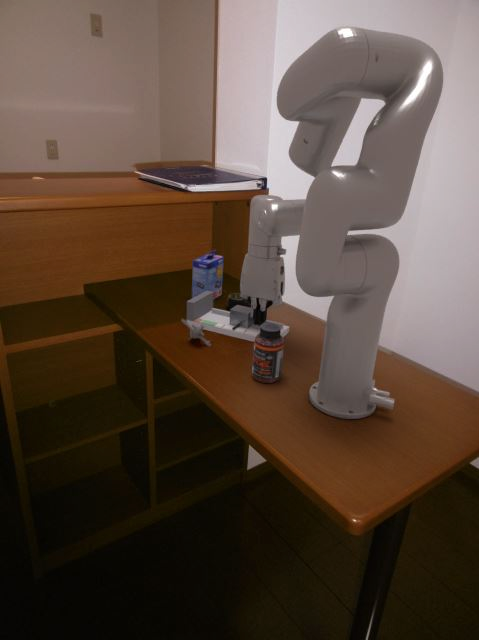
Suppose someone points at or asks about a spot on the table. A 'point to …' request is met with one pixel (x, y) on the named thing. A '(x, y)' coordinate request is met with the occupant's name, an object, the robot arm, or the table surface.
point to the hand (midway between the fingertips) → (259, 323)
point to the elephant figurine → (196, 332)
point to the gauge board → (220, 319)
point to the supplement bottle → (268, 354)
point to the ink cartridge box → (207, 274)
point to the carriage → (241, 317)
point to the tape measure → (236, 301)
